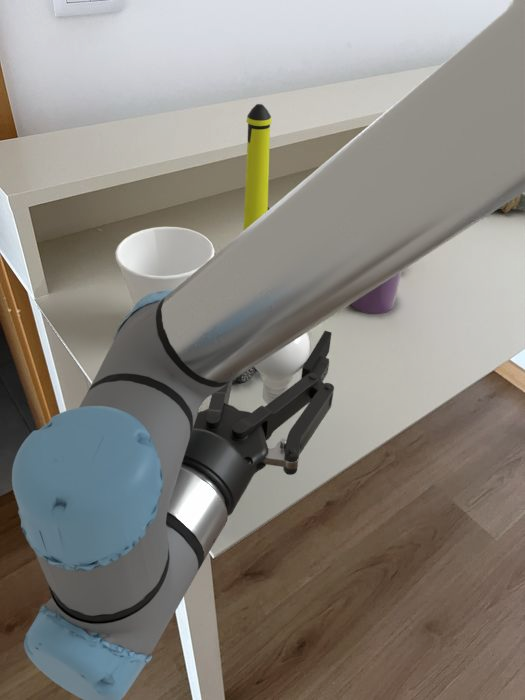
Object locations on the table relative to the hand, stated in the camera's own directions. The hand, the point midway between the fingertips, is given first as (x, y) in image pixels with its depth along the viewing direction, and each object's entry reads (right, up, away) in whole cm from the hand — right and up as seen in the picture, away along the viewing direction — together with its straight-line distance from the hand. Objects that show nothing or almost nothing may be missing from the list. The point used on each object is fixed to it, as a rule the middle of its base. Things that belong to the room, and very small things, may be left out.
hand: (296, 332), depth 63 cm
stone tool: (+25, +27, +45) cm, 58 cm away
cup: (-16, +1, +16) cm, 22 cm away
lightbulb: (-2, -8, 0) cm, 8 cm away
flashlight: (-5, +10, +27) cm, 30 cm away
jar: (+12, +5, +23) cm, 26 cm away
